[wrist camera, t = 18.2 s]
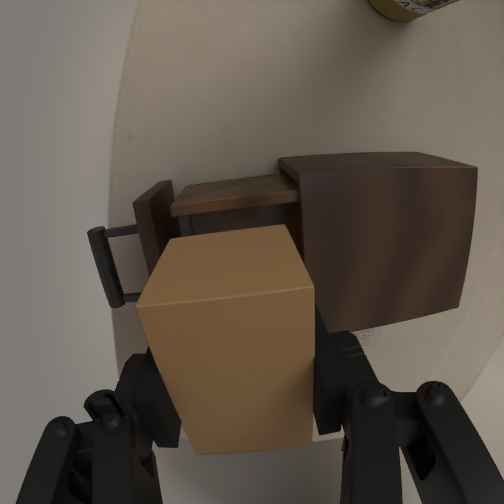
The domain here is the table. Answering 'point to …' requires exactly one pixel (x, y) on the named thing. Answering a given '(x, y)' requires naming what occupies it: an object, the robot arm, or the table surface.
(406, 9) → the paper tube
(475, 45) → the table surface
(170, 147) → the table surface
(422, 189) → the cabinet
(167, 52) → the table surface
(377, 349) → the table surface
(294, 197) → the drawer
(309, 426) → the small cardboard box
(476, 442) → the robot arm
